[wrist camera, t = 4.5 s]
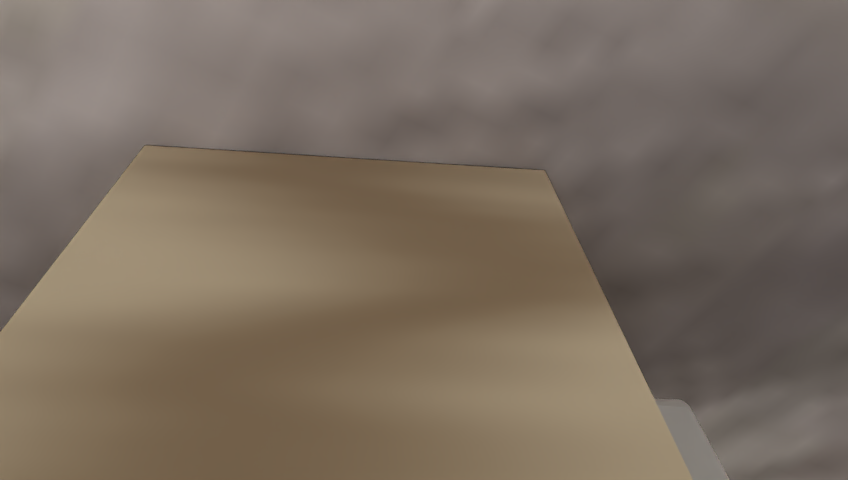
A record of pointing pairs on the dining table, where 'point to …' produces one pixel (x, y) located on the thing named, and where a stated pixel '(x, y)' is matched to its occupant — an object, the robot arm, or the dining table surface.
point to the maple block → (324, 332)
